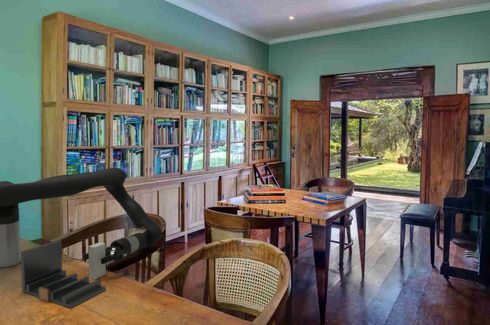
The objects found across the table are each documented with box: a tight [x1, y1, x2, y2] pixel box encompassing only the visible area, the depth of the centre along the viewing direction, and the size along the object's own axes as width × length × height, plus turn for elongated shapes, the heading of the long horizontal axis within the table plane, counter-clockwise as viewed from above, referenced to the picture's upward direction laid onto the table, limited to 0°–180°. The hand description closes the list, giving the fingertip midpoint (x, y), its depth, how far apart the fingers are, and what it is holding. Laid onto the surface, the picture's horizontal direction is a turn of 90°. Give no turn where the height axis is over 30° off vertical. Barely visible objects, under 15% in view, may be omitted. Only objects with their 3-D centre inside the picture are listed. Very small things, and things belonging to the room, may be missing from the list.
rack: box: [20, 239, 107, 309], centre depth 119 cm, size 23×15×14 cm, turn 65°
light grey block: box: [88, 242, 107, 280], centre depth 132 cm, size 3×5×12 cm, turn 155°
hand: (93, 259), depth 130 cm, fingers open, 8 cm apart
